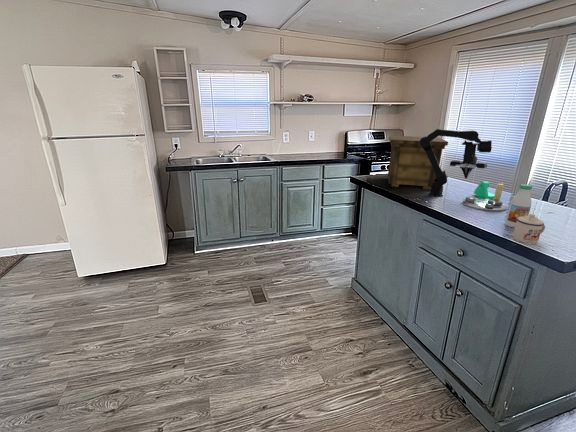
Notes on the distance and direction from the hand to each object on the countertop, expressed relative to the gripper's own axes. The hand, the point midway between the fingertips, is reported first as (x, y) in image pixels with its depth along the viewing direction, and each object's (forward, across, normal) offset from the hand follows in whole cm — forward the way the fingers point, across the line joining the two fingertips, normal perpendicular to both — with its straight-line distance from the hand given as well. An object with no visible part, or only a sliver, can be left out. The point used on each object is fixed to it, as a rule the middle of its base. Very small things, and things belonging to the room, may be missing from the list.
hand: (466, 178), depth 184 cm
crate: (+11, +41, -12) cm, 44 cm away
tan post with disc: (+12, -19, +8) cm, 24 cm away
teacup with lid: (+14, -42, +48) cm, 65 cm away
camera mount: (+14, -8, -13) cm, 21 cm away
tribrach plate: (+13, -13, +6) cm, 20 cm away
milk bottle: (+14, -34, +33) cm, 49 cm away
